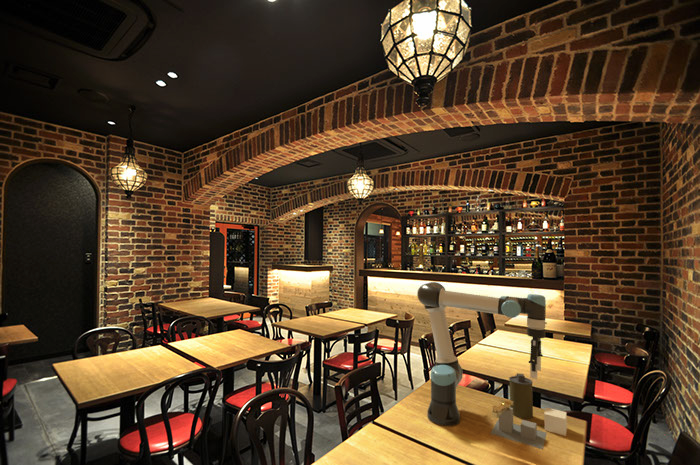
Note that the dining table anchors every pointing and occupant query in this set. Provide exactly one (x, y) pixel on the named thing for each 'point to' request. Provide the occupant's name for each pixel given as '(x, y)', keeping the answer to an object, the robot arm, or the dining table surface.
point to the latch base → (518, 430)
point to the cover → (555, 421)
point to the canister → (521, 396)
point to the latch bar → (501, 407)
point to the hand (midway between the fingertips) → (535, 374)
